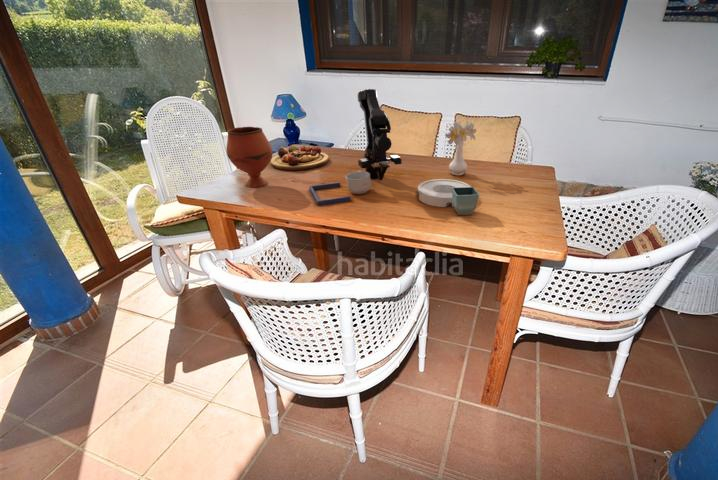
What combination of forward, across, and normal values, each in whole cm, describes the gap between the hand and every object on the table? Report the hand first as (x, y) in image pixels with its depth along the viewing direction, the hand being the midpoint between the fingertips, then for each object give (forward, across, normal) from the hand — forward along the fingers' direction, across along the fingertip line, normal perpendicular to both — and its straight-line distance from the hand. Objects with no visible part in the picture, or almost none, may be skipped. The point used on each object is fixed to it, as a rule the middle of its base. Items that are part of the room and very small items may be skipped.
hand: (380, 180), depth 163 cm
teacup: (+4, +10, 0) cm, 11 cm away
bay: (+4, +24, 0) cm, 24 cm away
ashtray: (+4, -22, +21) cm, 31 cm away
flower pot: (+4, -21, +39) cm, 44 cm away
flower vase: (+4, -43, -4) cm, 43 cm away
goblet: (+4, +53, -27) cm, 60 cm away
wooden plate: (+4, +28, -56) cm, 63 cm away
